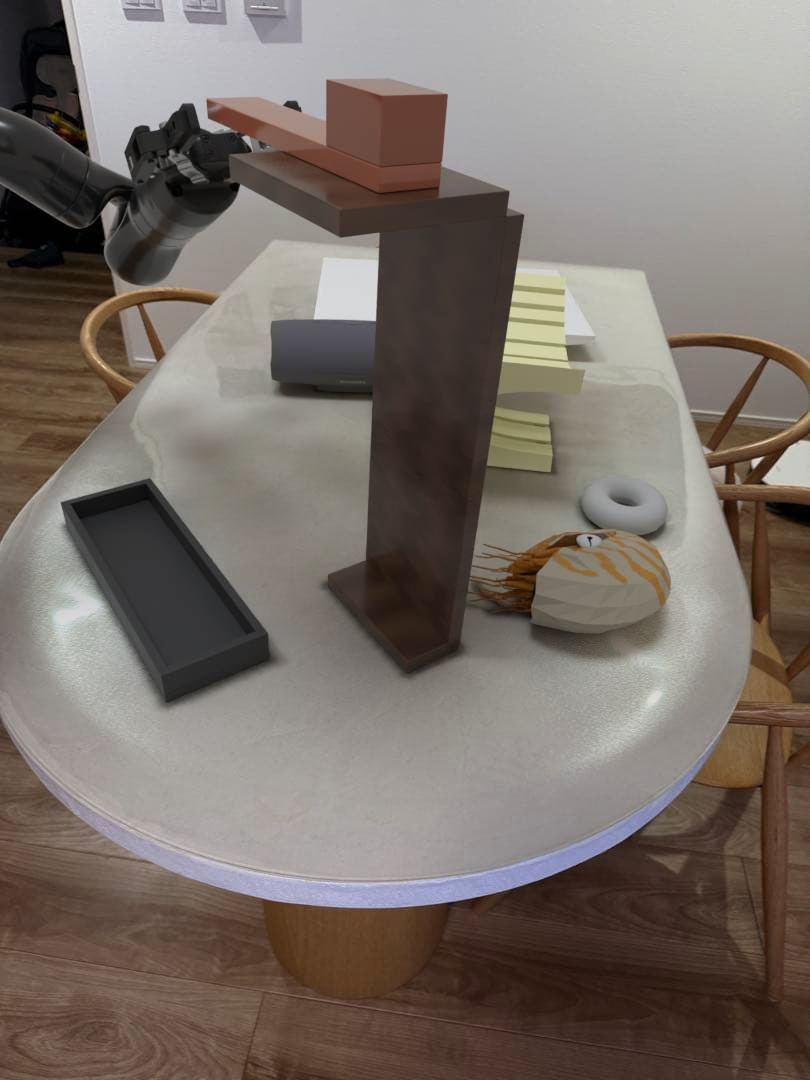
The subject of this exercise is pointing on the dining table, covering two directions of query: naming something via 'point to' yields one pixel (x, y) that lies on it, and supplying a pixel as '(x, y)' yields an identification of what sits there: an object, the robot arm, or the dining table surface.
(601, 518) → the donut
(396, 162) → the reddish-brown long block
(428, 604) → the dark brown wooden stand
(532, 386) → the slatted curved stool
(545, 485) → the dining table surface
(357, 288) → the board
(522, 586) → the nautilus
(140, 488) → the shallow dark tray
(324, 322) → the bluetooth speaker
